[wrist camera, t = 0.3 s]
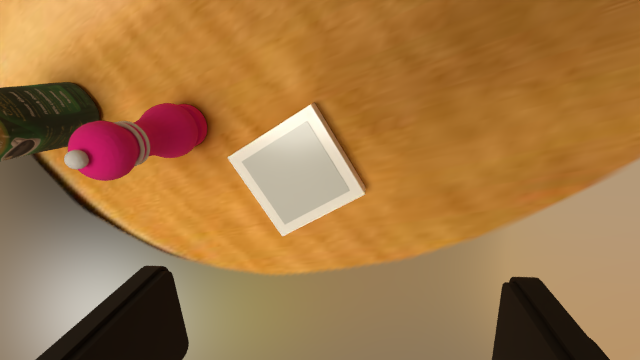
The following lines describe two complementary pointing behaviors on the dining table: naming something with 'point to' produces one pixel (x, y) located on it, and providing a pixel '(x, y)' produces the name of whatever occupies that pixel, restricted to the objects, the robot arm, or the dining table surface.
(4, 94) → the coffee jar
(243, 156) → the stand
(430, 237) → the dining table surface
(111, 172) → the pepper mill
